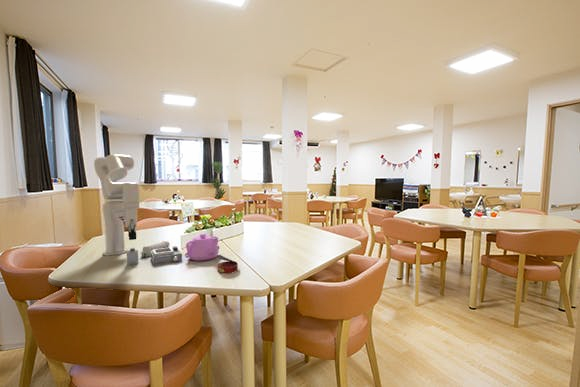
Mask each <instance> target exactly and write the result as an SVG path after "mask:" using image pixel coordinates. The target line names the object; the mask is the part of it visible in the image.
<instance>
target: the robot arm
mask: <svg viewBox="0 0 580 387" xmlns="http://www.w3.org/2000/svg"><path fill="white" fill-rule="evenodd" d="M93 165H94V166H93V168H94V171H95V173H96V176H97V177H98V179H99V181H100V186H101V192H102V197H103V199H104V200H106V201H107V202H105V203H104V204H103V205H102V207H101V208H102V213H103V214H102V215H103V219H104V231H105V232H104V235H105V250H104V251H102V255H104V256H116V255H117V256H118V255H122V254H126V253H127V251H129V250H128V248H125V229H127V230H128V231H127V232H128V234H127V235H128V240H129V241H132V240H136V239H137V231H136V228H137V227H138V226H137V225H138V210H139V209H140V187H139V183H138V182H133V181H132V182H131V181H129V182H128V181H125V182H123V181H121V182H119V181H120V180H123V179H125V178H126V177H127V175H128V171H130V170H132V169H133V168H134V166H135V161H134V159H133V157H132V156H130V155H128V154H127V155H126V154H115V153H114V154H109V155H106V156H102V157H101V156H100V157H97V158H95V160H94V161H93ZM119 217H120V218H121V217H124V220H125V224H124V222H123V220H122V219H120V218H119Z"/></svg>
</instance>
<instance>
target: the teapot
mask: <svg viewBox="0 0 580 387" xmlns="http://www.w3.org/2000/svg"><path fill="white" fill-rule="evenodd" d="M218 244H219V238H218V236H216V235H215V236H214V235H213V236H210V235H207V234H206V233H200V234H199V236H195V237H193V238H192V239H191V240H189V241H187V243H186V244H185V248H186V251H187V252H185V253H184V258H186V259H190V260H192V261H199V262H203V261H208V260H212V259H214V258H216V257H217V256H218V254H219V253H220V252H219V250H220V246H219V245H218Z"/></svg>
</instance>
